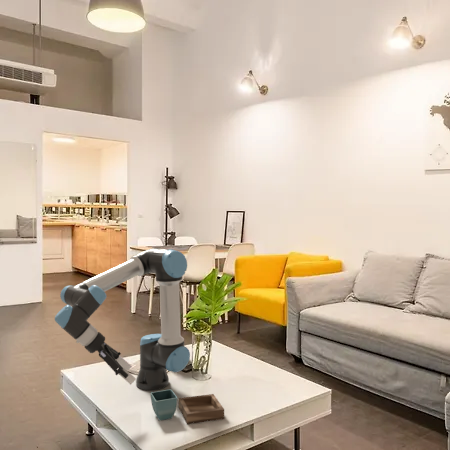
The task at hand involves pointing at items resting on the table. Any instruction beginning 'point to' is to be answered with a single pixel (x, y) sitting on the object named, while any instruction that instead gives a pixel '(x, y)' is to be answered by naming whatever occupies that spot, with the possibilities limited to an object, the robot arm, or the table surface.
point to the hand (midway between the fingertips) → (131, 375)
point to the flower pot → (164, 404)
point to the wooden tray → (201, 409)
